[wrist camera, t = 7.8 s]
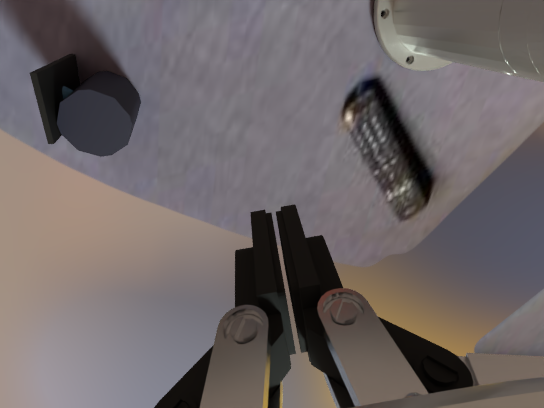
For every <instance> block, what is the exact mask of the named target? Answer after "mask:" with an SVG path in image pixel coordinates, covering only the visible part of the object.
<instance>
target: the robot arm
mask: <svg viewBox="0 0 544 408" xmlns="http://www.w3.org/2000/svg"><path fill="white" fill-rule="evenodd" d="M381 11H383V12H384V14H383V16H381ZM374 25H375V32H376V35H377V38H378V41H379V44H380V45H381V47H382V49H383V51H384V52H385V53H386V55H387V56H388V57H389V58H390V59H391V60H392V61H394V62H395V63H397V64H398V65H400V66H403V67H405V68H408V69H412V70H417V71H429V70H434V69H439V68H441V67H444V66H446V65H449V64H451V63H452V62H455V63H459V64H464V65H468V66H472V67H477V68H481V69H485V70H490V71H494V72H499V73H503V74H507V75H512V76H516V77H521V78H525V79H531V80H535V81H540V82H544V0H375V3H374ZM407 57H408V60H407V61H406V59H407ZM276 216H277V222H278V228H279V234H280V240H281V247H282V252H283V259H284V265H285V270H286V276H287V281H288V286H289V292H290V297H291V302H292V307H293V313H294V318H295V323H296V328H297V333H298V338H299V344H300V349H301V352H308V356H309V361H310V362H311V364H312V365H313V366H314V367H316V368H317V369H319V370H321V371H322V372H323V373H324V377H325V380H326V383H327V385H328V387H329V390H330V393H331V395H332V398H333V400H334V402H335V405H336V407H337V408H544V357H541V356H521V355H500V354H479V353H467V354H466V357H462V356H456V355H455V354H453V353H451V352H450V351H448V350H446V349H444V348H442V347H440V346H438V345H436V344H434V343H432V342H430V341H428V340H426V339H424V338H421V337H419V336H417V335H415V334H413V333H411V332H409V331H407V330H405V329H403V328H400V327H398V326H396V325H394V324H392V323H390V322H388V321H386V320H384V319H381V318H380V317H378V316H377V315H376V313H375V312H374V310H373V309H372V307H371V306H370V304H369V303H368V301H367V300H366V299H365V298H364V297H363V296H362V295H361V294H359V293H358V292H356V291H353V290H351V289H346V288H343V286H342V284H341V281H340V278H339V276H338V273H337V271H336V268H335V266H334V263H333V260H332V258H331V255H330V253H329V250H328V247H327V245H326V242H325V240H324V237H323V236H322V235H320V236H314V237H309V238H305V235H304V231H303V228H302V225H301V222H300V218H299V215H298V212H297V209H296V205H289V206H284V207H281V211H277V212H276ZM251 225H252V239H253V247H252V248H246V249H240V250H236V251H235V308H233V309H231V310H230V311H228V312H227V313H226V314H225V315H224V316H223V317H222V319H221V320H220V323H219V325H218V328H217V333H216V337H215V342H214V345H213V346H212V347H211V348H210V349H209V350H208V351H207V352H206V353H205V355H204V356H203V357H202V358H201V359H200V360H199V361H198V362H197V363H196V364H195V365H194V366H193V367H192V368H191V369H190V370H189V371H188V372H187V373H186V374H185V375H184V376H183V378H181V379H180V380H179V381H178V382H177V383H176V384H175V386H174V387H172V389H171V390H170V391H169V392H168V393H167V394H166V395H165V396H164V397H163V398H162V399H161V400H160V401H159V402H158V403H157V405H156V406H155V407H154V408H282V404H283V383H282V380H283V378H284V377H285V376H286V374H287V373H288V371H289V370H290V369H291V366H290V365H291V362H290V355H291V354H296V352H295V346H294V340H293V334H292V329H291V324H290V317H289V311H288V305H287V300H286V294H285V289H284V282H283V277H282V271H281V266H280V260H279V254H278V248H277V243H276V237H275V231H274V225H273V220H272V214H271V213H266V212H265V210H261V211H255V212H251Z"/></svg>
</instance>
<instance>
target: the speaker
mask: <svg viewBox="0 0 544 408" xmlns="http://www.w3.org/2000/svg"><path fill="white" fill-rule="evenodd" d="M30 76H31V79H32V83H33V87H34V91H35V95H36V99H37V103H38V106H39V110H40V114H41V118H42V122H43V126H44V130H45V133H46V137H47V141H48V144H54V143H55V142H56V141H57V140H58V139H59V138H60V136H61V135H63V136H64V137H65V138H66V139H67V140H68V141H69V142H70V143H71V144H72V145H73V146H74V147H75V148H76V149H77V150H79V151H83V152H86V153H90V154H94V155H97V156H109V155H113V154H114V153H116V152H117V151H119V150H120V149H122V148H123V147H125V146H126V145H128V142H129V139H130V136H131V133H132V130H133V127H134V124H135V121H136V118H137V115H138V111H139V107H140V104H141V101H140V97H139V93H138V92H137V91H136V90H135V88H134V87H133V86H132V85H131V83H130V82H129V81H128V80H127V78H124V77H121V76H119V75H116V74H114V73H111V72H108V71H105V72H97V73H96V74H94V75H93V76H92V77H90V78H89V79H87V80H86V81H84V82H83V83H82V84H81V85H80V79H79V74H78V69H77V63H76V58H75V54H69V55H67V56H65V57H63V58H61V59H59V60H56V61H54V62H52V63H50V64H48V65H46V66H44V67H41V68H39V69H37V70H35V71H33V72H31V73H30Z"/></svg>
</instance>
